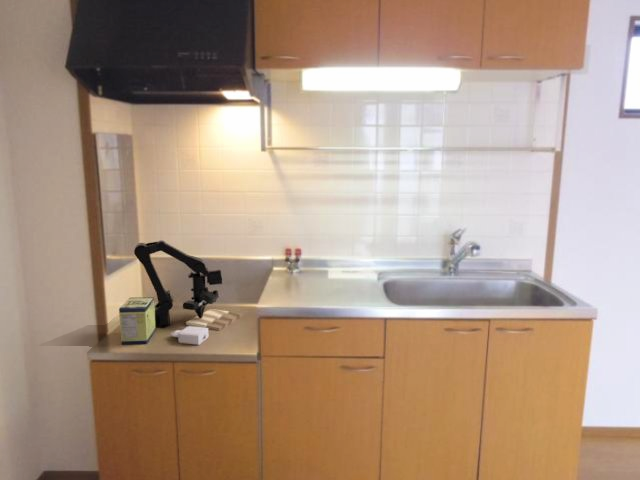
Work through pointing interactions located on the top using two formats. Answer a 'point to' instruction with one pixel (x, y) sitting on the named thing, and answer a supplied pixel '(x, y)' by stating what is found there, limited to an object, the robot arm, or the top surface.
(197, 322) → the oak plank
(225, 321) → the walnut board
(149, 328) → the protein box
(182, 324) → the top surface
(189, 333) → the charger
